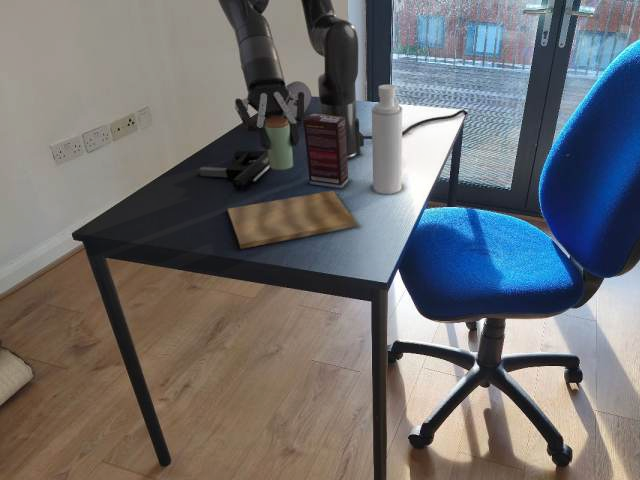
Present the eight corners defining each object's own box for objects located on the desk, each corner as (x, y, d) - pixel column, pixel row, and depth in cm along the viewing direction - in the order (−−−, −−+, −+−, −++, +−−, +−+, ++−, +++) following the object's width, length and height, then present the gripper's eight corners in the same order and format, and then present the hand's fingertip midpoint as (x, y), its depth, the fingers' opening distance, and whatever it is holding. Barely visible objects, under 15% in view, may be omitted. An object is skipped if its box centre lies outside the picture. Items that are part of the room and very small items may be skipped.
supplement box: (349, 180, 135) (346, 116, 126) (341, 189, 131) (338, 123, 122) (316, 176, 137) (311, 112, 128) (308, 184, 134) (302, 118, 124)
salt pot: (290, 159, 114) (286, 115, 109) (296, 167, 111) (291, 123, 106) (267, 162, 113) (261, 118, 108) (272, 171, 109) (266, 126, 104)
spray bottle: (378, 180, 135) (376, 73, 121) (404, 183, 133) (406, 76, 119) (369, 191, 130) (366, 82, 115) (396, 195, 128) (397, 84, 114)
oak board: (333, 195, 129) (333, 190, 128) (355, 226, 117) (355, 221, 116) (228, 213, 122) (227, 208, 121) (240, 249, 110) (239, 243, 109)
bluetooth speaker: (286, 111, 178) (282, 78, 172) (314, 112, 177) (312, 79, 171) (263, 136, 160) (259, 101, 154) (295, 137, 159) (291, 102, 153)
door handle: (185, 176, 132) (246, 179, 128) (225, 145, 148) (281, 148, 144) (188, 189, 134) (248, 192, 130) (228, 157, 150) (283, 160, 146)
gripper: (224, 59, 104) (244, 143, 102) (298, 52, 109) (319, 133, 106) (224, 80, 111) (243, 159, 109) (294, 74, 116) (314, 149, 114)
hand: (281, 146), depth 108 cm, fingers closed on salt pot, 5 cm apart
